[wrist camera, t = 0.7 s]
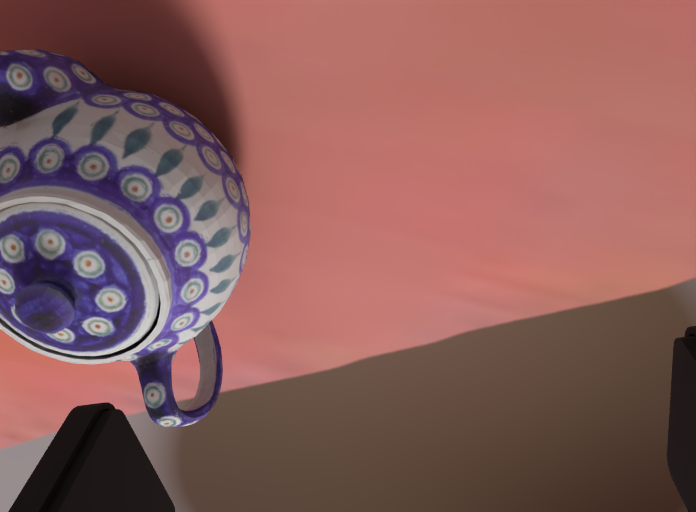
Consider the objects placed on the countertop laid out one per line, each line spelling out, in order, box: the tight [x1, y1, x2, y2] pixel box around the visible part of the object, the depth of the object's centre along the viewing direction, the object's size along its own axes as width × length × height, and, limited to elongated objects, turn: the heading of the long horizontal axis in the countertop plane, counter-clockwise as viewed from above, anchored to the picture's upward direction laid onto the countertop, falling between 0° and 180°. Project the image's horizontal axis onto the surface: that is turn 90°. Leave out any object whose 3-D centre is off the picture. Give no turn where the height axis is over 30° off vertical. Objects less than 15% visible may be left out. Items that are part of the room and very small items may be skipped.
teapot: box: [0, 50, 251, 427], centre depth 33 cm, size 25×15×15 cm, turn 18°
